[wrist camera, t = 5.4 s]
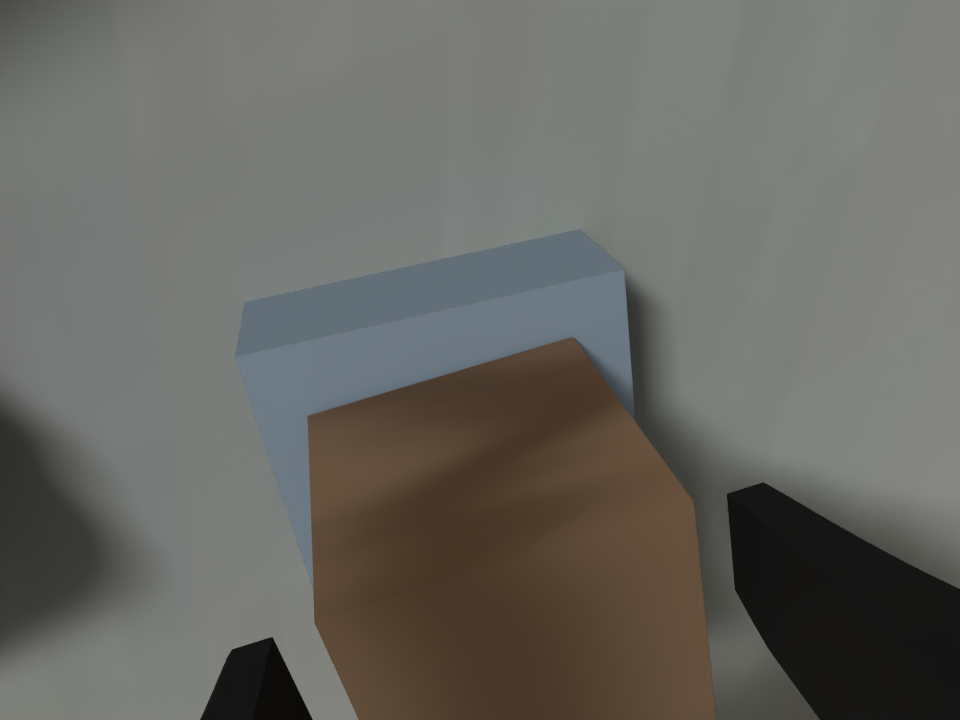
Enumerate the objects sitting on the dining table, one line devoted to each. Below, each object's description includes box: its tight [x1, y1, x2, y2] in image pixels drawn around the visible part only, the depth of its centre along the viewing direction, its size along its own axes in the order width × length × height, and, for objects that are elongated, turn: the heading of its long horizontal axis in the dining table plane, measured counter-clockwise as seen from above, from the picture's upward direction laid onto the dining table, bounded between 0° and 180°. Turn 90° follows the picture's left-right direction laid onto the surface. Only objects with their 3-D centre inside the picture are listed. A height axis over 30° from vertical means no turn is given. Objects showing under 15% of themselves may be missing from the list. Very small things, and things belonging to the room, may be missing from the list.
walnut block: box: [307, 337, 716, 720], centre depth 13 cm, size 5×5×5 cm
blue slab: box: [235, 229, 635, 590], centre depth 17 cm, size 7×7×3 cm
